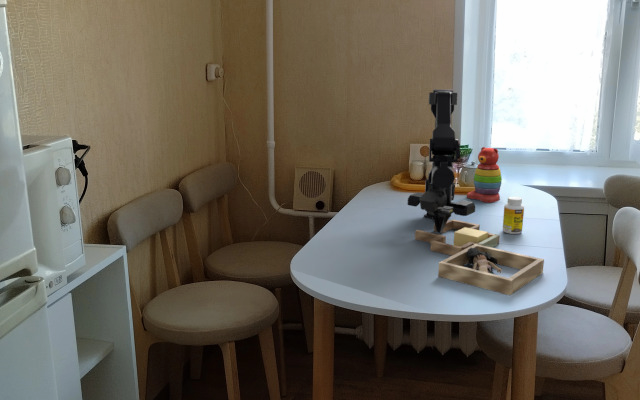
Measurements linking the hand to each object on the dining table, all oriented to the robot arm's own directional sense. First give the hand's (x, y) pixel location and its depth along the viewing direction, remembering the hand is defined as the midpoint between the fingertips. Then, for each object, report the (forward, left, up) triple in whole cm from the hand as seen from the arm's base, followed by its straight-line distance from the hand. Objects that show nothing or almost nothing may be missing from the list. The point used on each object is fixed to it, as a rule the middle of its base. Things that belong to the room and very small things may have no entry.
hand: (439, 232), depth 192 cm
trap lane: (+6, 0, -1) cm, 6 cm away
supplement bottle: (+14, +18, -2) cm, 23 cm away
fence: (+25, -18, -1) cm, 30 cm away
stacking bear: (-10, +49, -2) cm, 50 cm away
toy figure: (+23, -18, -2) cm, 29 cm away
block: (+10, -1, -2) cm, 10 cm away
